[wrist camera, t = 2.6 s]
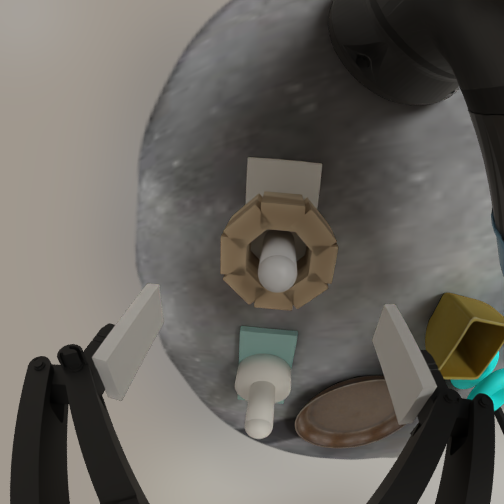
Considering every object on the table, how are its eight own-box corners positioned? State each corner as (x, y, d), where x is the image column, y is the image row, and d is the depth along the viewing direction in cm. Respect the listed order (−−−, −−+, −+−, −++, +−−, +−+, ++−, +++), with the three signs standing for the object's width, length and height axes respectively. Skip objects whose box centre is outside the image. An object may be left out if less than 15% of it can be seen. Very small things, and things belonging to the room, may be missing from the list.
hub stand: (240, 325, 35) (224, 398, 25) (298, 330, 35) (300, 405, 24) (237, 394, 41) (226, 457, 30) (284, 398, 41) (281, 462, 30)
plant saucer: (355, 443, 46) (357, 456, 43) (270, 417, 43) (269, 433, 40) (436, 385, 38) (442, 398, 35) (355, 344, 35) (360, 361, 32)
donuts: (528, 368, 23) (507, 407, 27) (499, 329, 32) (486, 369, 36) (479, 393, 25) (460, 430, 29) (453, 347, 34) (442, 387, 38)
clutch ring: (230, 189, 25) (221, 199, 21) (335, 198, 24) (344, 210, 20) (228, 281, 28) (220, 303, 25) (320, 289, 28) (325, 312, 24)
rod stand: (247, 156, 27) (226, 173, 17) (321, 163, 27) (346, 184, 16) (241, 283, 33) (223, 352, 23) (305, 289, 32) (312, 360, 22)
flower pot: (409, 332, 34) (431, 379, 25) (438, 276, 30) (473, 317, 22) (453, 338, 34) (477, 380, 25) (481, 288, 30) (515, 325, 22)
